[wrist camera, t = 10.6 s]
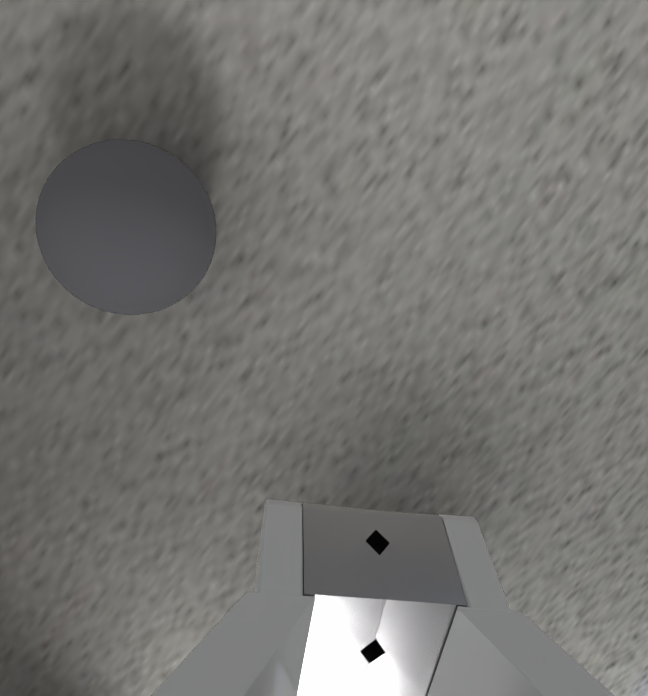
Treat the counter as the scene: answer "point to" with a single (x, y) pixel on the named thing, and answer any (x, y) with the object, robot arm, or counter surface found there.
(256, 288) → the counter surface
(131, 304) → the dark gray ball
